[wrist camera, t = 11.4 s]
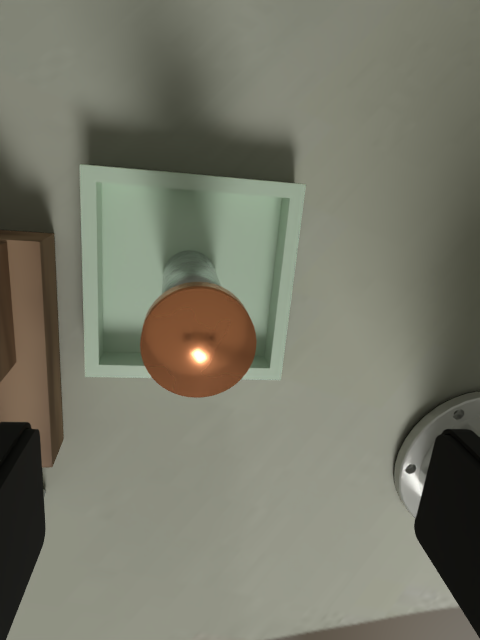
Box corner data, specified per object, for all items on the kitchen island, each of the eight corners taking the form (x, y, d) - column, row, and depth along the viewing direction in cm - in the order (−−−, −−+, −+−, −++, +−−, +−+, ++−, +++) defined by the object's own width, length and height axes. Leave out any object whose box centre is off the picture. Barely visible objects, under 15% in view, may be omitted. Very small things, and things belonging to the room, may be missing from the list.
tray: (294, 182, 27) (305, 184, 25) (272, 363, 31) (280, 380, 28) (88, 164, 25) (79, 164, 23) (92, 359, 29) (84, 376, 27)
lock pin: (227, 242, 27) (262, 292, 17) (222, 311, 28) (250, 398, 18) (154, 237, 26) (141, 287, 16) (152, 308, 28) (139, 396, 17)
